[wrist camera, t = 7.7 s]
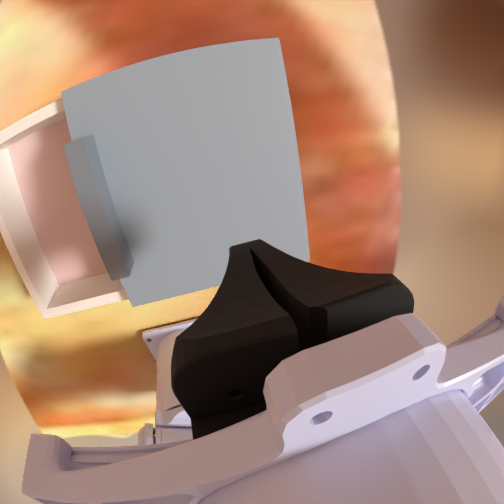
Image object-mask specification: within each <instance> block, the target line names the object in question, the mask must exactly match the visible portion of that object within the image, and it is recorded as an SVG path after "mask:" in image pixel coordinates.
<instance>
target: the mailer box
mask: <svg viewBox="0 0 504 504" xmlns="http://www.w3.org/2000/svg"><path fill="white" fill-rule="evenodd" d="M71 142H72V140H71V136H70V132H69V128H68V123H67V119H66V114H65V109H64V104H63V99H62V98H61V99H59V100H57V101H55V102H53V103H51V104H49V105H47V106H45V107H43V108H41V109H39V110H37V111H35V112H33V113H31V114H30V115H28V116H26V117H24V118H22V119H21V120H19V121H17V122H16V123H14V124H12V125H11V126H9V127H7V128H6V129H4V130H2V131H1V132H0V233H1V235H2V238H3V240H4V242H5V245H6V247H7V249H8V251H9V254H10V256H11V258H12V260H13V262H14V264H15V266H16V268H17V271H18V273H19V275H20V277H21V278H22V280H23V282H24V284H25V286H26V288H27V290H28V292H29V294H30V295H31V297H32V299H33V301H34V302H35V304H36V306H37V308H38V309H39V311H40V313H41V314H42V316H43V318H44V319H46V318H51V317H55V316H59V315H64V314H68V313H72V312H76V311H81V310H85V309H89V308H93V307H97V306H101V305H106V304H110V303H114V302H118V301H122V300H126V299H129V298H128V296H127V294H126V292H125V290H124V287H123V285H122V283H121V281H120V279H118V280H114V281H111V279H110V277H109V274H108V272H107V270H106V268H105V265H104V263H103V261H102V258H101V256H100V254H99V251H98V249H97V246H96V244H95V241H94V239H93V236H92V234H91V231H90V228H89V226H88V223H87V220H86V218H85V215H84V212H83V209H82V206H81V204H80V201H79V198H78V195H77V192H76V188H75V185H74V182H73V179H72V176H71V172H70V169H69V165H68V162H67V158H66V155H65V151H64V147H63V146H64V145H66V144H68V143H71Z"/></svg>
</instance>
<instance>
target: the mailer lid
mask: <svg viewBox="0 0 504 504" xmlns="http://www.w3.org/2000/svg"><path fill="white" fill-rule="evenodd" d="M61 94H62V99H63V104H64V109H65V114H66V119H67V123H68V128H69V132H70V136H71V140H72V142H71V143H68V144H66V145H64V146H63V147H64V151H65V155H66V158H67V162H68V165H69V169H70V172H71V176H72V179H73V182H74V185H75V188H76V192H77V195H78V198H79V201H80V204H81V206H82V209H83V212H84V215H85V218H86V220H87V223H88V226H89V228H90V231H91V234H92V236H93V239H94V241H95V244H96V246H97V249H98V251H99V254H100V256H101V258H102V261H103V263H104V265H105V268H106V270H107V272H108V274H109V277H110V279H111V281H114V280H118V279H120V281H121V283H122V285H123V287H124V290H125V292H126V294H127V296H128V298H129V300H130V302H131V304H132V307H134V306H139V305H143V304H147V303H151V302H155V301H159V300H163V299H167V298H171V297H175V296H179V295H183V294H187V293H191V292H195V291H199V290H203V289H207V288H211V287H215V286H219V285H221V283H222V280H223V277H224V275H225V272H226V268H227V265H228V260H229V248H230V247H231V246H233V245H237V244H241V243H245V242H249V241H253V240H257V239H261V240H263V241H265V242H266V243H268V244H270V245H272V246H273V247H275V248H277V249H279V250H281V251H283V252H285V253H287V254H289V255H291V256H293V257H295V258H298V259H300V260H303V261H305V262H308V261H310V256H309V244H308V233H307V223H306V213H305V204H304V195H303V186H302V178H301V170H300V162H299V155H298V147H297V140H296V133H295V127H294V120H293V114H292V107H291V101H290V95H289V89H288V83H287V78H286V72H285V67H284V62H283V56H282V51H281V46H280V41H279V38H270V39H257V40H247V41H239V42H231V43H224V44H217V45H211V46H206V47H200V48H195V49H190V50H185V51H181V52H176V53H172V54H168V55H164V56H160V57H156V58H153V59H149V60H146V61H142V62H139V63H135V64H132V65H129V66H126V67H123V68H120V69H117V70H114V71H111V72H109V73H106V74H103V75H101V76H98V77H95V78H93V79H90V80H88V81H85V82H83V83H81V84H78V85H76V86H74V87H71V88H69V89H67V90H65V91H63V92H61Z"/></svg>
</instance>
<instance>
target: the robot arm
mask: <svg viewBox="0 0 504 504" xmlns="http://www.w3.org/2000/svg"><path fill="white" fill-rule="evenodd" d="M413 308H414V298H413V295H412V293H411V292H410V290H409V289H408V288H407V287H406V286H405V285H404V284H403V283H402V282H401V281H399V280H398V279H397V278H396V277H395V276H394V275H393V274H365V273H354V272H346V271H339V270H334V269H329V268H325V267H321V266H318V265H314V264H311V263H308V262H305V261H303V260H300V259H298V258H295V257H293V256H291V255H289V254H287V253H285V252H283V251H281V250H279V249H277V248H275V247H273V246H272V245H270V244H268V243H266V242H265V241H263V240H261V239H257V240H253V241H249V242H245V243H241V244H237V245H233V246H231V247H230V248H229V260H228V265H227V268H226V272H225V275H224V277H223V280H222V283H221V285H220V287H219V289H218V291H217V293H216V295H215V297H214V298H213V300H212V301H211V303H210V304H209V306H208V307H207V309H206V310H205V311H204V312H203V313H202V314H201V316H200V317H199V318H197V319H193V320H188V321H184V322H180V323H176V324H172V325H167V326H163V327H159V328H154V329H150V330H145V331H143V333H142V338H143V340H144V341H145V343H146V345H147V347H148V349H149V350H150V352H151V354H152V356H153V357H154V359H155V361H156V362H157V378H156V412H155V428H153V424H150V423H146V424H145V426H144V427H142V428H141V429H140V430H139V434H138V445H137V446H124V447H123V446H122V447H71V446H70V445H69V444H68V443H67V442H66V441H65V440H64V439H62V438H60V437H58V436H56V435H48V434H31V438H30V442H29V447H28V453H27V458H26V464H25V470H24V476H23V484H22V492H23V494H25V495H27V496H29V497H30V498H32V499H34V500H36V501H38V502H40V503H42V504H504V448H503V446H502V445H501V443H500V442H499V440H498V439H497V437H496V436H495V435H494V433H493V432H492V430H491V429H490V428H489V426H488V425H487V424H486V422H485V421H484V419H483V418H482V417H481V415H480V414H479V412H480V411H481V410H482V409H483V408H484V407H485V406H486V405H487V404H488V403H490V402H491V401H492V400H493V399H494V398H495V397H496V396H497V395H498V394H499V393H500V392H501V391H502V390H503V389H504V296H503V297H502V298H501V299H500V301H499V302H498V305H497V307H496V310H495V314H494V315H493V316H491V317H490V318H488V319H487V320H486V321H484V322H483V323H481V324H480V325H478V326H477V327H476V328H474V329H473V330H471V331H470V332H468V333H467V334H465V335H463V336H462V337H460V338H459V339H457V340H456V341H454V342H452V343H451V344H450V345H448V346H445V345H444V344H443V343H442V342H441V341H440V339H438V337H437V336H436V335H435V334H434V333H433V332H432V331H431V330H430V329H429V328H428V327H427V325H426V324H425V323H424V322H423V321H422V320H421V319H420V318H418V317H417V316H415V315H414V314H413ZM148 339H151V340H148ZM154 435H155V436H154Z"/></svg>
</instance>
